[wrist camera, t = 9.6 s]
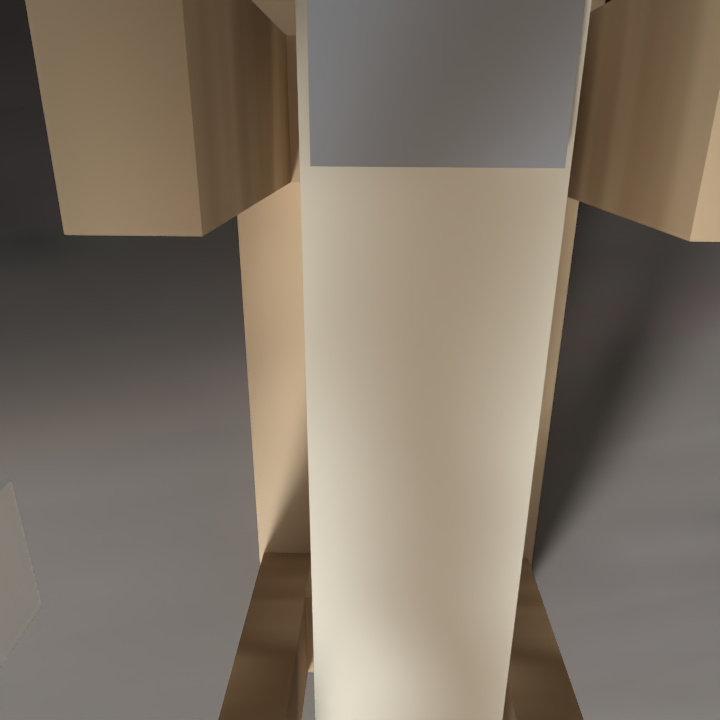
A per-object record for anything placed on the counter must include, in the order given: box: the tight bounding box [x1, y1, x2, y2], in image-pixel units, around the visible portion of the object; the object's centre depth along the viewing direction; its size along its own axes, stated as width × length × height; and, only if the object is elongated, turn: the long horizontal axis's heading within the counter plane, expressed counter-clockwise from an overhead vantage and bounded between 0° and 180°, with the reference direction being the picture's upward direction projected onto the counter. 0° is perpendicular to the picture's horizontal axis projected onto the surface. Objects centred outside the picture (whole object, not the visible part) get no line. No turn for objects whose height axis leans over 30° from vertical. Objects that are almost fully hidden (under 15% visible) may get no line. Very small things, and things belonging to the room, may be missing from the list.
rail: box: [295, 0, 592, 720], centre depth 14 cm, size 4×20×5 cm, turn 0°
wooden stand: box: [25, 0, 720, 720], centre depth 14 cm, size 9×20×10 cm, turn 0°
